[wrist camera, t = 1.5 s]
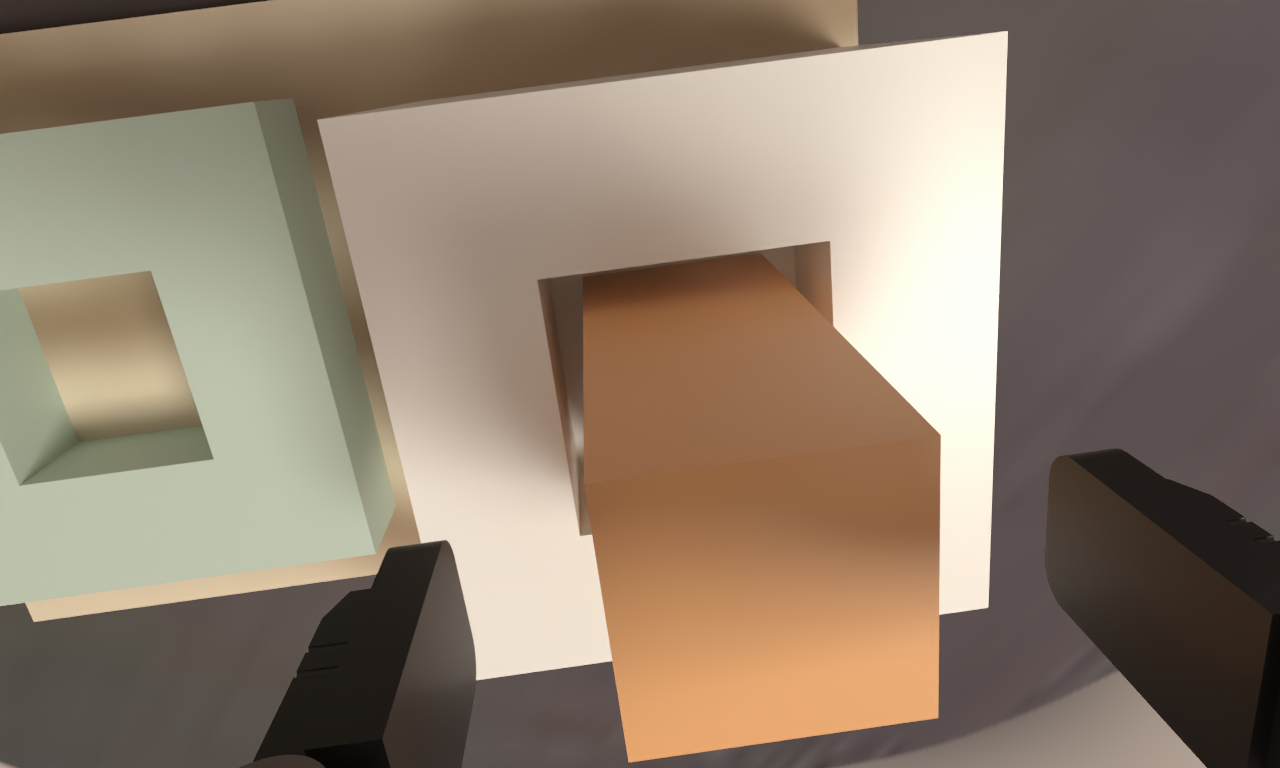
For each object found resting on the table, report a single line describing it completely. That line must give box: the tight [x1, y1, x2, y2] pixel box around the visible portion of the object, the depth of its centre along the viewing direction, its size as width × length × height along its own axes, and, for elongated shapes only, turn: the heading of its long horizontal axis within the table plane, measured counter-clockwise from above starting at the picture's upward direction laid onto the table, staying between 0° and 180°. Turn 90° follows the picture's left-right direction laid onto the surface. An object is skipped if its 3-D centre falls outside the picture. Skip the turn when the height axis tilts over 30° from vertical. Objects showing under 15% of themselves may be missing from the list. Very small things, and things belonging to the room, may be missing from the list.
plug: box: [583, 253, 941, 762], centre depth 15 cm, size 5×4×10 cm
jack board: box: [0, 0, 858, 622], centre depth 26 cm, size 18×29×1 cm, turn 97°
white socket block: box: [317, 31, 1008, 680], centre depth 21 cm, size 12×12×10 cm
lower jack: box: [0, 98, 396, 606], centre depth 24 cm, size 13×13×3 cm
